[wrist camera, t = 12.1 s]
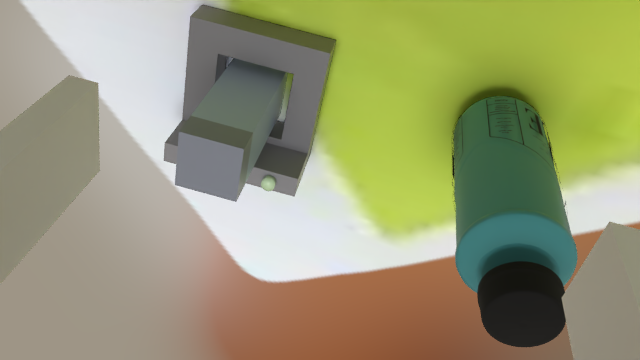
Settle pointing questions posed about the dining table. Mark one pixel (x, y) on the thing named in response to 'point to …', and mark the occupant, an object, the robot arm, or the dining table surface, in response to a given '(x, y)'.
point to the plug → (229, 129)
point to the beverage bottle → (511, 221)
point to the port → (271, 51)
